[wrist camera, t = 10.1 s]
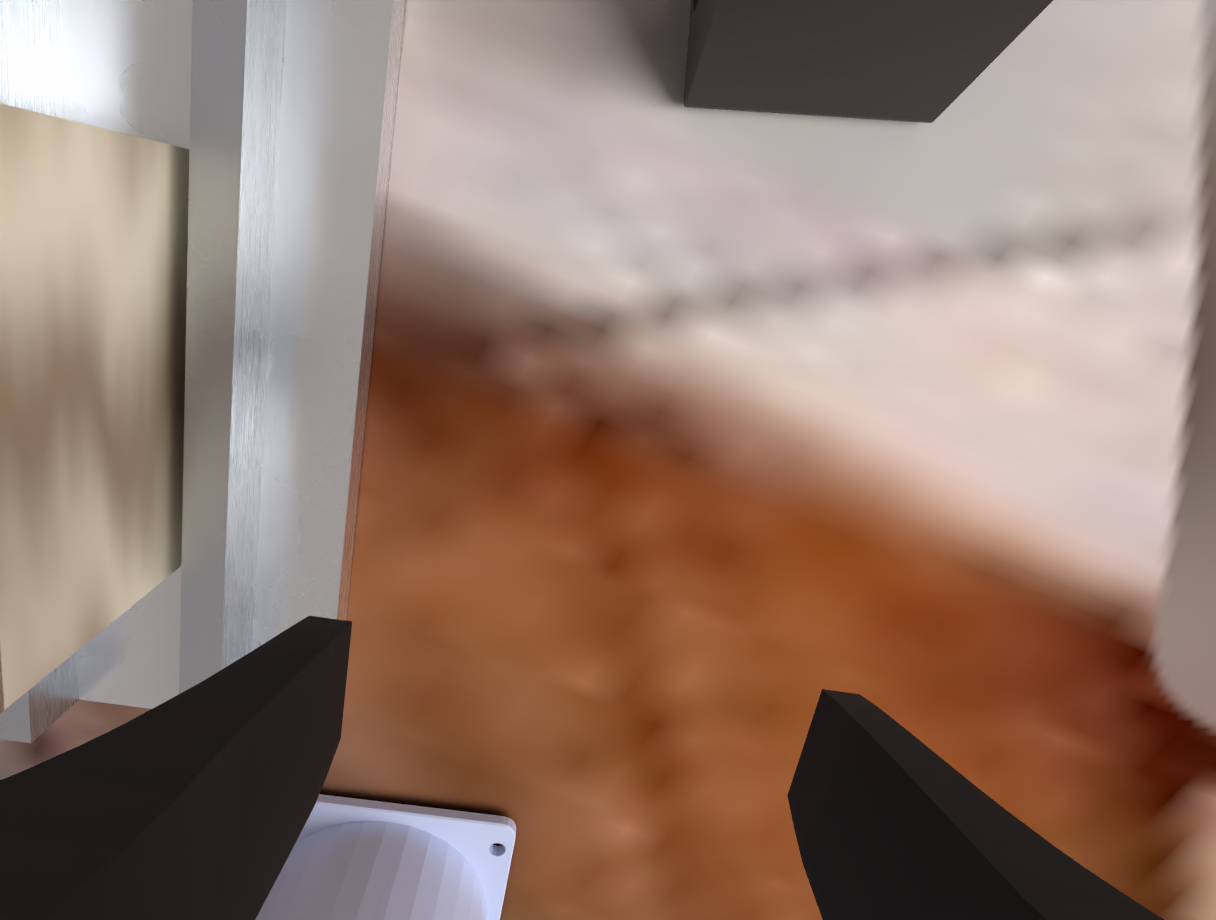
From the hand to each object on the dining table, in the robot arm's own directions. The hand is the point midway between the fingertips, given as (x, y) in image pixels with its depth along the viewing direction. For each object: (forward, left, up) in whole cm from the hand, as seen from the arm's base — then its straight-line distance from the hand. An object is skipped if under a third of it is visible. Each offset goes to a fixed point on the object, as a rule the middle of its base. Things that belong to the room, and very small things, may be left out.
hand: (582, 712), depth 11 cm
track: (+2, +11, -9) cm, 15 cm away
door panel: (+2, +11, -8) cm, 14 cm away
